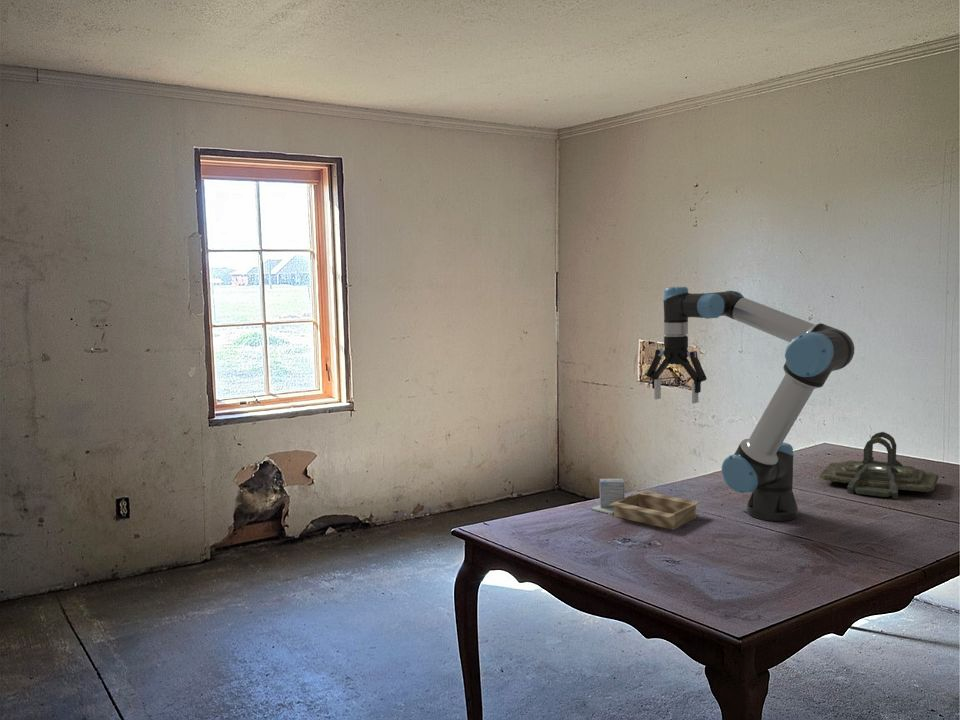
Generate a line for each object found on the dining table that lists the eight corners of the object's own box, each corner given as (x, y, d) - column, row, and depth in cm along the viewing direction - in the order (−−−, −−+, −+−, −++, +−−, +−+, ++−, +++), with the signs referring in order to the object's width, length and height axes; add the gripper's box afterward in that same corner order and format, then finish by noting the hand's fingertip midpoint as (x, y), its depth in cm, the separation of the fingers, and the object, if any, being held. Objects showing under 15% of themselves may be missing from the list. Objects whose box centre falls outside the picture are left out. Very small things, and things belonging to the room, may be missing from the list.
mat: (632, 505, 269) (632, 503, 269) (611, 514, 260) (611, 512, 260) (612, 501, 274) (612, 499, 274) (591, 509, 265) (591, 508, 265)
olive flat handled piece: (814, 491, 279) (815, 439, 277) (833, 468, 307) (835, 421, 305) (930, 505, 260) (932, 450, 258) (940, 480, 287) (942, 430, 285)
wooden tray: (700, 516, 256) (700, 502, 255) (668, 531, 242) (668, 517, 242) (642, 503, 270) (642, 490, 270) (609, 518, 256) (609, 504, 256)
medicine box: (623, 503, 269) (623, 478, 268) (624, 508, 264) (624, 481, 263) (599, 503, 270) (599, 478, 268) (600, 508, 265) (599, 482, 264)
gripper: (717, 335, 255) (717, 402, 258) (648, 332, 272) (648, 395, 275) (706, 338, 250) (705, 406, 252) (635, 334, 267) (636, 398, 269)
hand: (676, 400), depth 263 cm, fingers open, 13 cm apart
